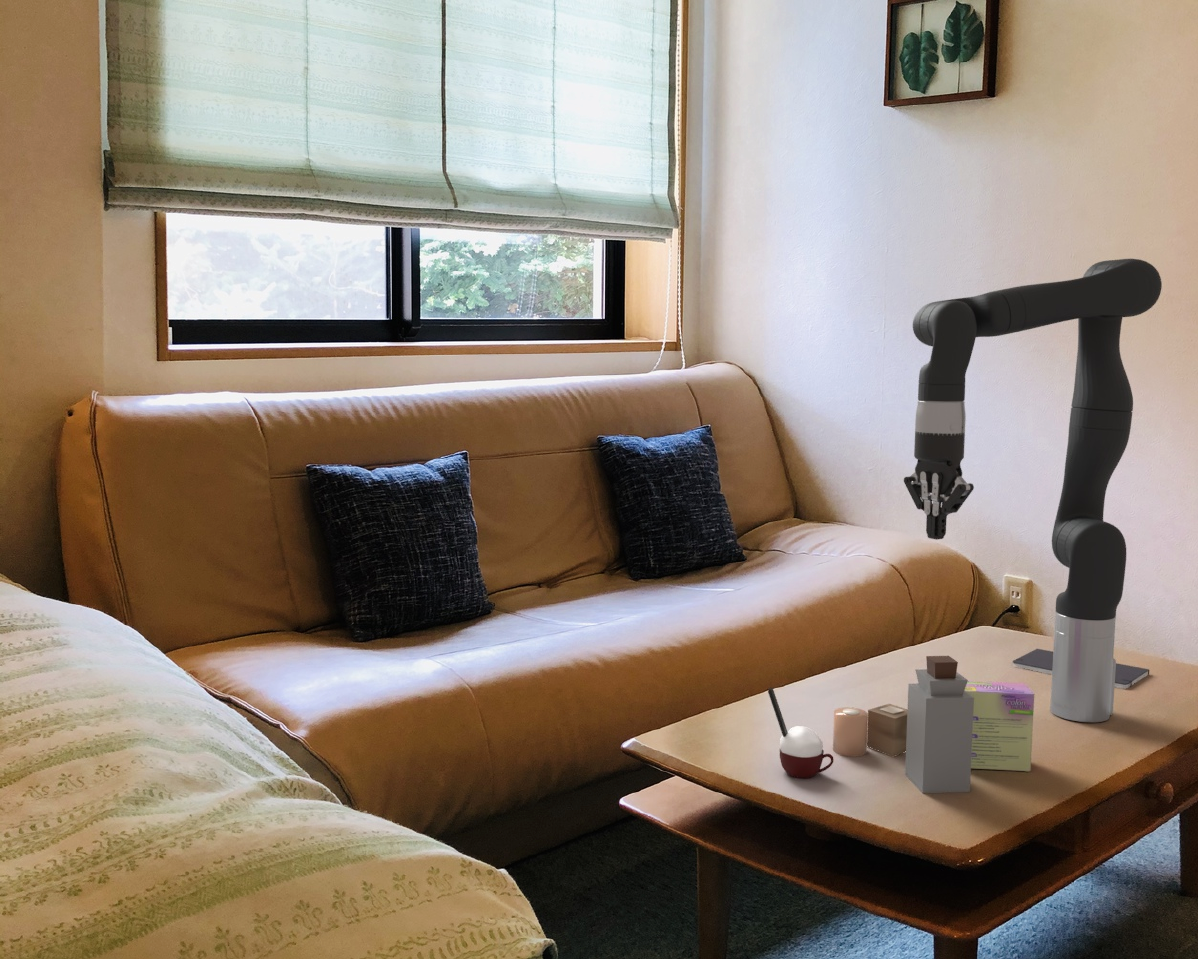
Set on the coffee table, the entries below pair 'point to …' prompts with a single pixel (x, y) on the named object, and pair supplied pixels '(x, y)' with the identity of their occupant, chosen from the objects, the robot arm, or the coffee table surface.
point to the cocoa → (799, 747)
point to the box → (1001, 725)
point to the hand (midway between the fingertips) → (935, 538)
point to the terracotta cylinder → (850, 732)
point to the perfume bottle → (939, 728)
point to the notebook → (1044, 664)
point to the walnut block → (887, 729)
